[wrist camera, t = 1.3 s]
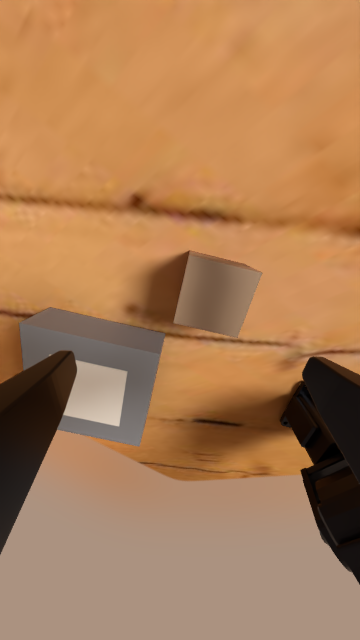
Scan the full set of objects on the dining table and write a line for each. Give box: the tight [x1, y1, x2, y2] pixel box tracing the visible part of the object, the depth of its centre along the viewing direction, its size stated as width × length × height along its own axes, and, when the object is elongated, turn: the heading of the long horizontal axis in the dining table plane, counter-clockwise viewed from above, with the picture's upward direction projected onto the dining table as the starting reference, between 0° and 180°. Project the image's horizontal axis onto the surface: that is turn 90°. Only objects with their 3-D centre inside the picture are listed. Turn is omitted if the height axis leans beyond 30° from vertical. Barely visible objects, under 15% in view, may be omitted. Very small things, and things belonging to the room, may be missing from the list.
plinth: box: [19, 307, 165, 446], centre depth 21 cm, size 12×12×4 cm
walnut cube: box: [173, 251, 262, 338], centre depth 17 cm, size 5×5×5 cm
